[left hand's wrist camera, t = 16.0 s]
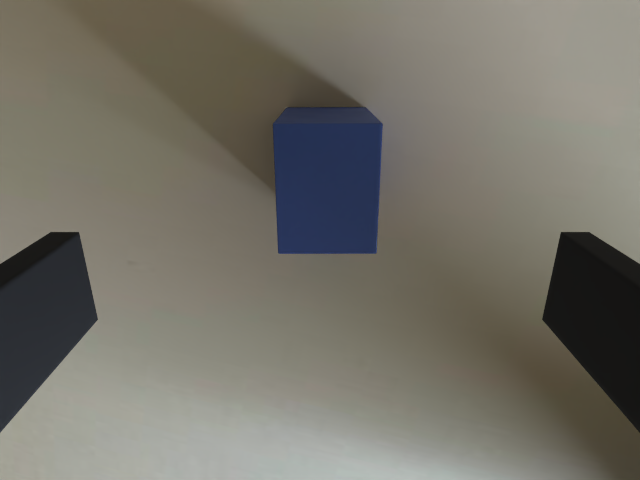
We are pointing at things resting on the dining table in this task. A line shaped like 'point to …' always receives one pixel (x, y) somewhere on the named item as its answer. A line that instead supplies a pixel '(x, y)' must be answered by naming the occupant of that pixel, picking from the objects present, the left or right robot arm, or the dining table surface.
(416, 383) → the dining table surface
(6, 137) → the dining table surface
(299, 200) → the block
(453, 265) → the dining table surface
